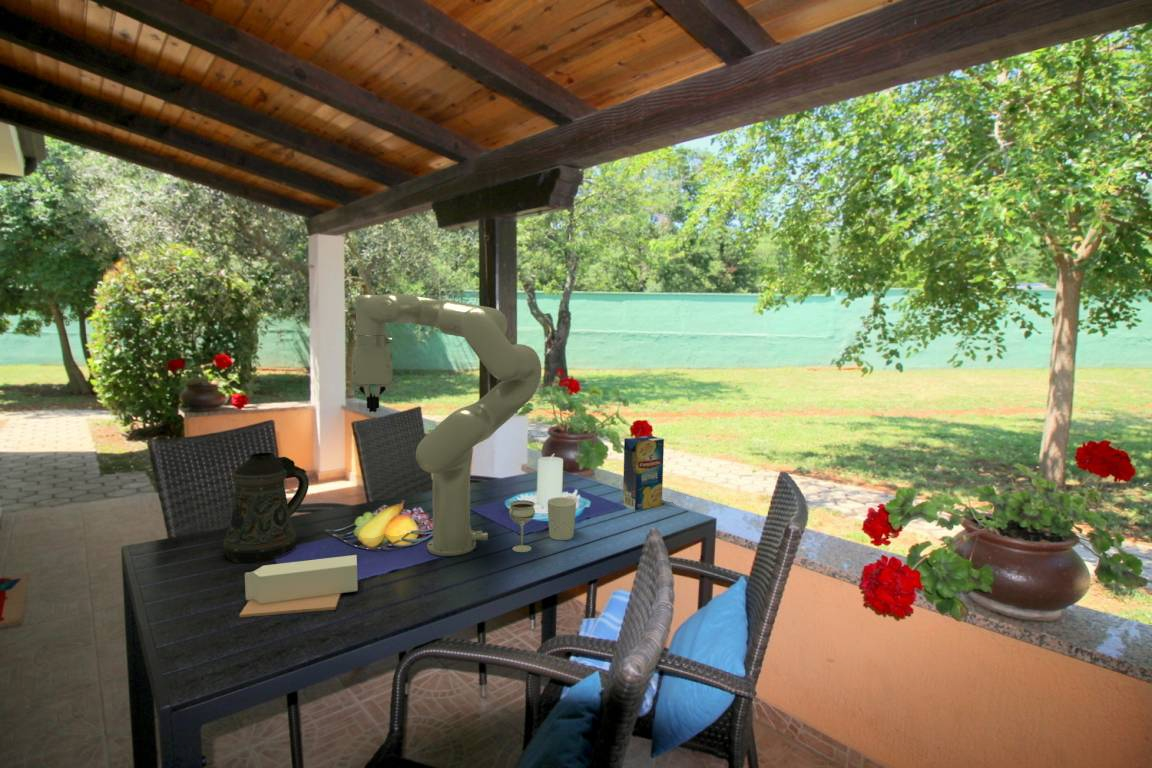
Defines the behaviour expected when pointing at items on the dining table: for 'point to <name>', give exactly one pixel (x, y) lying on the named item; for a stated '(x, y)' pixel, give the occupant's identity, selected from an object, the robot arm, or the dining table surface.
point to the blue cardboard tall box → (643, 472)
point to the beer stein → (263, 509)
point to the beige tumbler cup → (561, 518)
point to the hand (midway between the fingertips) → (373, 411)
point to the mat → (291, 606)
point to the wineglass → (522, 518)
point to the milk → (302, 579)
